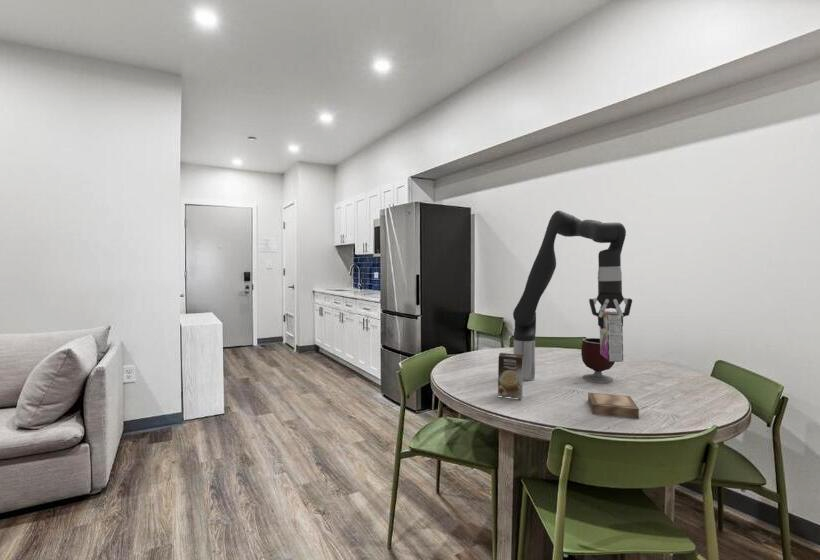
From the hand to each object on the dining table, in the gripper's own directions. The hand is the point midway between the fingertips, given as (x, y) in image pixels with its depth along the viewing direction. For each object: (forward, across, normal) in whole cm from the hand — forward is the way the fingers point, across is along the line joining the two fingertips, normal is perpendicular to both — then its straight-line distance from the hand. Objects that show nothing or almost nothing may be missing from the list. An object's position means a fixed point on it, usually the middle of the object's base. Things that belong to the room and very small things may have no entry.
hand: (610, 327), depth 145 cm
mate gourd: (+29, +2, +38) cm, 48 cm away
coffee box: (+28, -35, +3) cm, 45 cm away
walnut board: (+28, 0, -1) cm, 28 cm away
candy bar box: (+11, 0, 0) cm, 11 cm away
